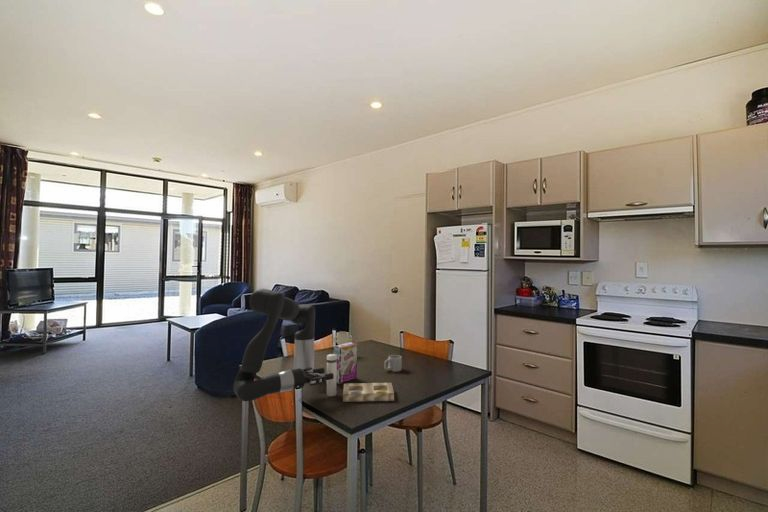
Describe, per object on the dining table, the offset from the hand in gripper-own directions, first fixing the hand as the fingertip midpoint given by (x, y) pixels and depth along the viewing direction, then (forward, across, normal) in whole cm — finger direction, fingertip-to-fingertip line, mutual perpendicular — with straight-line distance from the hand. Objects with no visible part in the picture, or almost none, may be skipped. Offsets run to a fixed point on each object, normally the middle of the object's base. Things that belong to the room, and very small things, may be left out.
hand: (328, 372), depth 149 cm
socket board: (+13, -9, +9) cm, 19 cm away
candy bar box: (+14, +12, +9) cm, 21 cm away
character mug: (+33, +51, +9) cm, 61 cm away
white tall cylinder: (+1, 0, +9) cm, 9 cm away
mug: (+41, +13, +9) cm, 44 cm away
